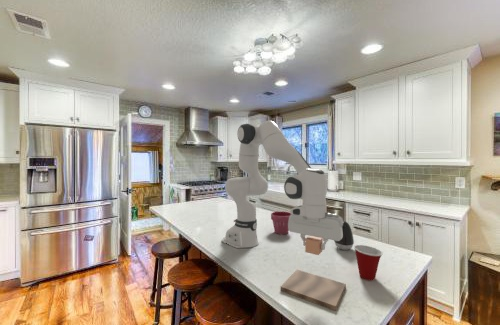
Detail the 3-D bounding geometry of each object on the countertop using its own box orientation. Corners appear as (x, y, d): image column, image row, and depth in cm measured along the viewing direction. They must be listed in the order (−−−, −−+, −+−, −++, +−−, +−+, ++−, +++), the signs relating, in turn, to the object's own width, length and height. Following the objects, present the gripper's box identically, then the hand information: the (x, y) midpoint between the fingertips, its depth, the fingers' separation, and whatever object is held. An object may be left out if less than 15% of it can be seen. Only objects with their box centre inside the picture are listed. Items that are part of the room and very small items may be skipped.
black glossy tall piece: (334, 250, 123) (334, 222, 123) (333, 243, 133) (334, 218, 132) (354, 253, 119) (354, 224, 119) (352, 246, 129) (353, 219, 129)
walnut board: (280, 290, 85) (280, 286, 85) (296, 272, 98) (296, 269, 98) (335, 310, 74) (335, 306, 74) (345, 287, 87) (345, 283, 87)
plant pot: (266, 231, 154) (266, 213, 154) (280, 227, 163) (280, 210, 163) (282, 237, 143) (282, 217, 143) (296, 232, 152) (296, 213, 152)
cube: (305, 252, 85) (305, 238, 85) (309, 247, 89) (309, 235, 89) (318, 255, 82) (318, 241, 82) (322, 250, 86) (322, 237, 86)
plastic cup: (388, 283, 90) (389, 253, 90) (362, 284, 89) (363, 254, 89) (371, 270, 101) (372, 243, 101) (348, 271, 100) (349, 244, 100)
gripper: (345, 213, 82) (344, 250, 82) (292, 206, 94) (292, 239, 94) (341, 216, 77) (340, 256, 77) (286, 209, 89) (286, 244, 89)
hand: (313, 247), depth 86 cm, fingers closed on cube, 5 cm apart
